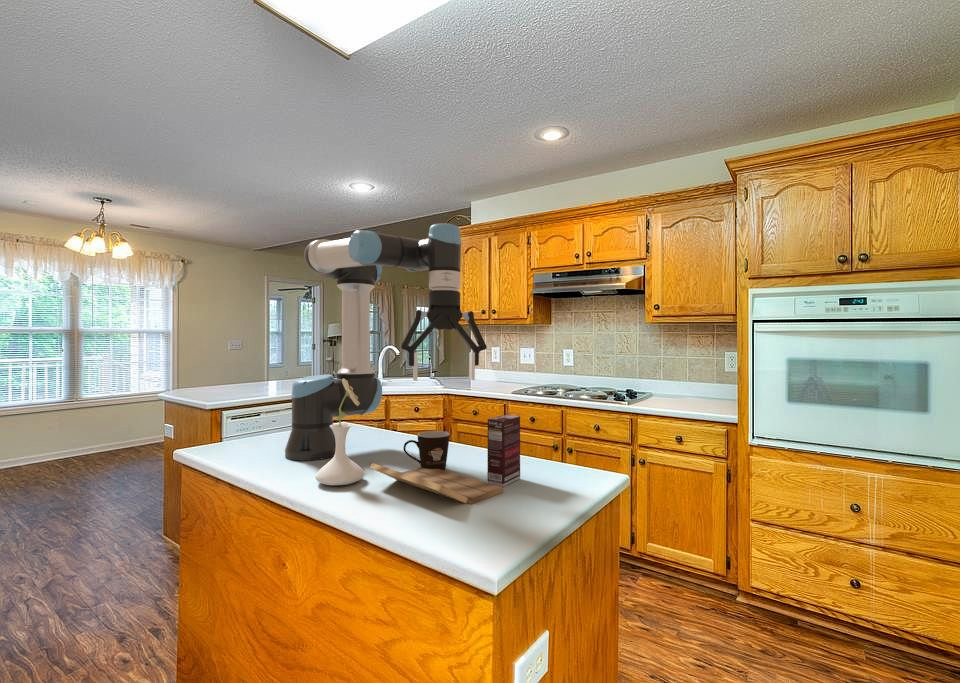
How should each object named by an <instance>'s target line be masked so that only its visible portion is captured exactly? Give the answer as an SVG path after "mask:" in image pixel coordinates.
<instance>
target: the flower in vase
mask: <svg viewBox="0 0 960 683" xmlns="http://www.w3.org/2000/svg"><path fill="white" fill-rule="evenodd" d="M342 383H343V386H344V388H345V389H346V391H347V392H346V395H345V396H344V398H343V400H342V403H341V405H340V408H339V417H335V420H338V422H339V423H333V425H330V428H331V429H332V430H333V432H334V436H335V442H336V451H335V455H334V456H333V457H331V460H329V461H328V462H327V463H326V464H325V465H323V466H322V467H321V468H320V469H319V470H318V471H317V472H316V475H315V480H316V481H317V483H320V484H323V485H325V486H326V485H327V486H346V485H350V484H351V485H352V484H354V483H356V482H358V481H361V480H362V479H363V478H364V476H365V471H364V469H363V468H362V467H361V466H360V465H358V464H357V463H356V462H355V461H354V460H352V459H350V458H349V456H348V455H347V452H346V439H347V435H348V432H349V430H350V429H351V427H352V424H349V423H342V421H341V420H343V419H345V417H347V416H346V415H347V414H345V413H344V412H342V411H341V406H342V404H343V402H344V400H345V398H346V396H350V398H351V399H352V401H353V402H354V403H355V404H356V405H357V406H359V404H360V403H359V401H358V400H357V399H358V397H357V396H356V395H355V394H354V392H353V388H352V387H350V388H349V384H348V381H347V380H345V379H344V378H343V379H342ZM340 414H341V415H340Z"/></svg>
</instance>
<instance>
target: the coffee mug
mask: <svg viewBox="0 0 960 683" xmlns="http://www.w3.org/2000/svg"><path fill="white" fill-rule="evenodd" d="M450 435H451V434H450V433H449V432H447V431H444V430H443V431H441V430H427V431H421V432H418V433H417V436H416V437H417V440H413V439H410V440H407V441H406V442H404V444H403V452H404V453H405V454H406V455H407V456H408V457H409V458H410V459H412V460H413V461H416V462H418V463H419V465H420V467H422V468H426V469H441V470H444V471H447V470H446V468H447V460H448V452H449V446H450V445H449V444H450ZM409 443H414V444H415V445H416V447H417V449H418V454H419V455H418V456H419V458H416V456H413V455H411V454H409V452H408V451H407V449H406V447H407V445H408V444H409Z"/></svg>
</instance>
